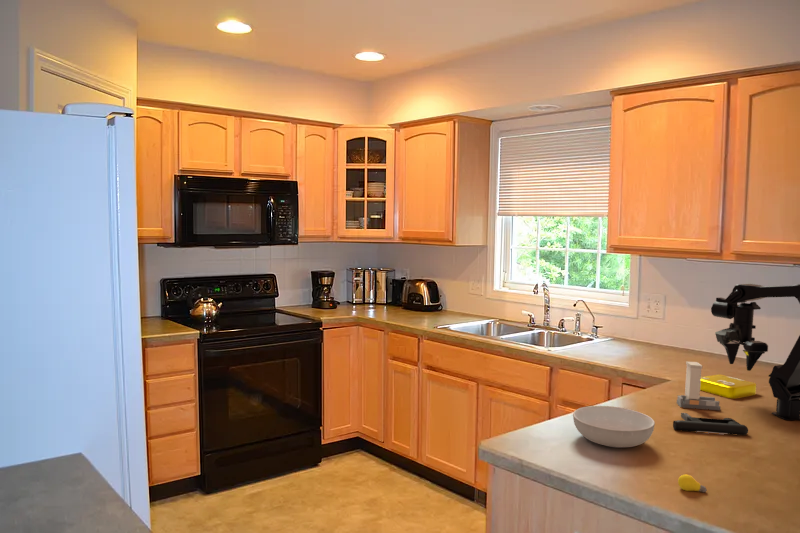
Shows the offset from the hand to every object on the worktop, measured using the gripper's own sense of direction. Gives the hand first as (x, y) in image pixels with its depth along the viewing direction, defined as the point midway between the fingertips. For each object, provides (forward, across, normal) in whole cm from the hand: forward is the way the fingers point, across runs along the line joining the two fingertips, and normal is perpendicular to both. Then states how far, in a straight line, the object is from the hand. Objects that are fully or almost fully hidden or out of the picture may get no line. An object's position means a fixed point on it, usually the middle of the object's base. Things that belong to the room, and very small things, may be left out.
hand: (739, 367), depth 208 cm
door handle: (+13, +24, -26) cm, 38 cm away
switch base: (+12, +5, -17) cm, 21 cm away
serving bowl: (+12, +36, -60) cm, 71 cm away
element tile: (+13, -13, +4) cm, 19 cm away
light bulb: (+12, +67, -55) cm, 87 cm away
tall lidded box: (+11, +4, -19) cm, 22 cm away
